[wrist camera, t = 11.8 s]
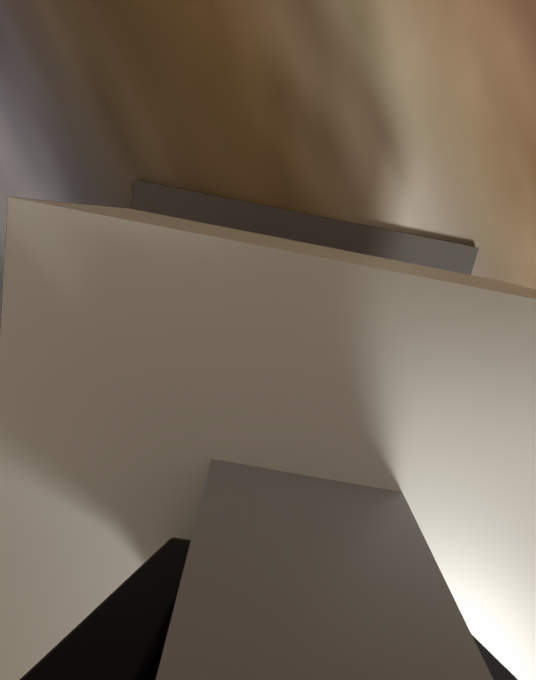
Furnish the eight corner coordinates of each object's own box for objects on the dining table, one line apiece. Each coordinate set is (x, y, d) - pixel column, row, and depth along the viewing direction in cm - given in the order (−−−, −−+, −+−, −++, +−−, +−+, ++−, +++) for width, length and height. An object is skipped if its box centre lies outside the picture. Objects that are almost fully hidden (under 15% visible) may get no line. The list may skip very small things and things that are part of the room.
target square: (390, 538, 20) (392, 541, 19) (99, 489, 19) (98, 492, 19) (476, 247, 17) (478, 247, 16) (136, 180, 16) (134, 179, 16)
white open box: (404, 587, 16) (633, 1215, 6) (92, 535, 15) (-236, 1113, 5) (498, 280, 13) (1178, 454, 3) (131, 208, 13) (-348, 161, 3)
